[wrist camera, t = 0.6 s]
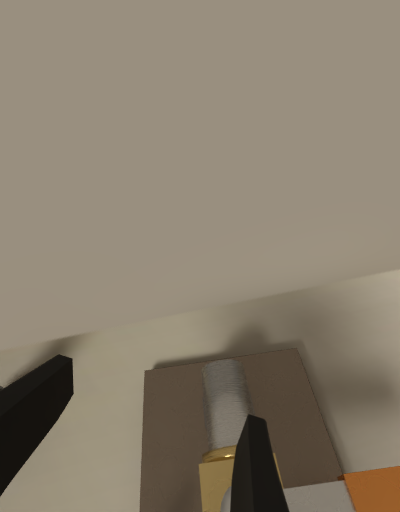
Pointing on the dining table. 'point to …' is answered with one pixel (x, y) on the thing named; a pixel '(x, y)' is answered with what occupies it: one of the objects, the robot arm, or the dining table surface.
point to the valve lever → (344, 493)
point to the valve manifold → (227, 428)
